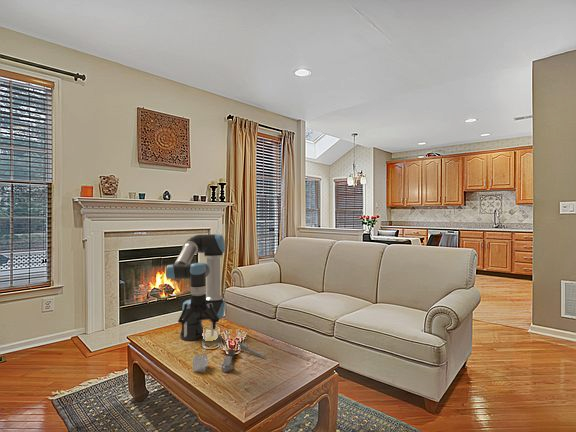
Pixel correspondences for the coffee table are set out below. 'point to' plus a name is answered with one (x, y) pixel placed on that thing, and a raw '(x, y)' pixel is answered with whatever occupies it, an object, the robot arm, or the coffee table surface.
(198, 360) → the socket
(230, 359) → the ratchet
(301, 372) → the coffee table surface
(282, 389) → the coffee table surface
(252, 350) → the caliper
